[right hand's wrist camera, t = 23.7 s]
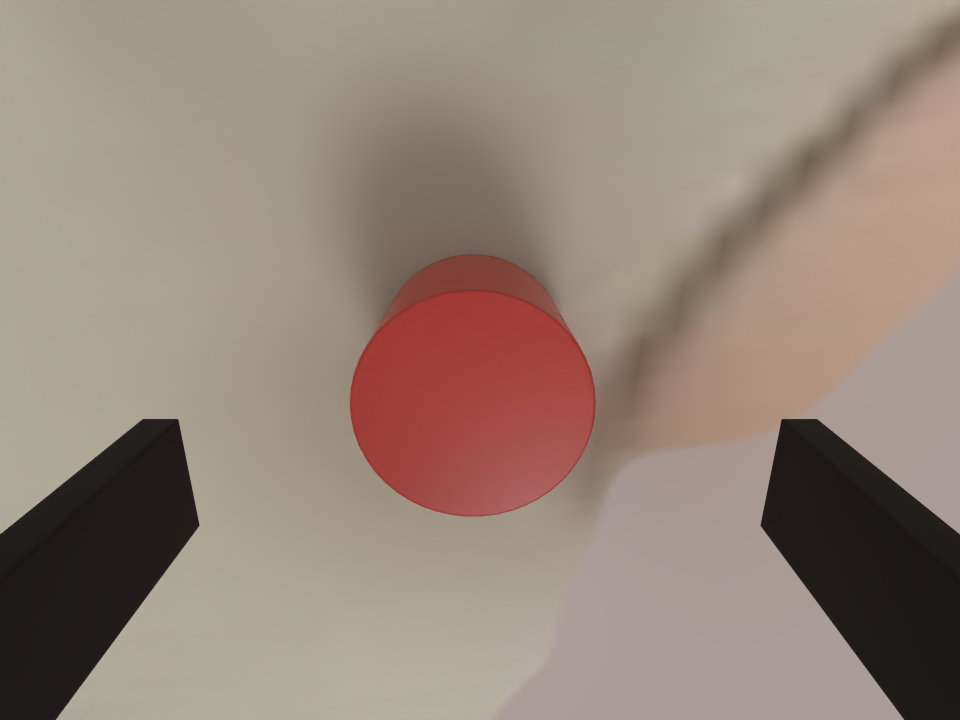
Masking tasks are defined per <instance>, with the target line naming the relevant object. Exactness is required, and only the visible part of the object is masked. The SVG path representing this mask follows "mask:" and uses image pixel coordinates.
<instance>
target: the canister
mask: <svg viewBox="0 0 960 720" xmlns="http://www.w3.org/2000/svg"><path fill="white" fill-rule="evenodd" d="M595 404H596V401H595V387H594V383H593V378H592V374H591V370H590V368H589V365H588V363H587V360H586V357H585V356H584V354H583V352H582V350H581V348H580V347H579V345H578V343H577V341H576V340H575V338H574V336H573V335H572V333H571V331H570V330H569V328H568V326H567V324H566V323H565V321H564V319H563V318H562V316H561V314H560V313H559V311H558V309H557V308H556V306H555V304H554V303H553V301H552V299H551V298H550V296H549V294H548V293H547V292H546V290H545V289H544V288H543V286H542V285H541V284H540V283H539V282H538V281H537V280H536V279H535V278H534V277H533V276H531V275H530V274H529V273H527V272H526V271H525V270H523V269H521V268H520V267H518V266H516V265H515V264H512V263H510V262H508V261H505V260H503V259H499V258H495V257H492V256H484V255H462V256H454V257H451V258H447V259H443V260H441V261H438V262H436V263H434V264H431V265H430V266H428V267H426V268H424V269H423V270H421V271H420V272H419V273H417V274H416V275H415V276H413V277H412V278H411V279H410V280H409V281H408V282H407V283H406V284H405V285H404V286H403V288H402V289H401V290H400V292H399V293H398V294H397V296H396V297H395V299H394V301H393V302H392V304H391V306H390V307H389V309H388V311H387V312H386V314H385V316H384V317H383V319H382V321H381V322H380V324H379V326H378V327H377V329H376V331H375V332H374V334H373V336H372V337H371V339H370V341H369V342H368V344H367V346H366V347H365V349H364V351H363V353H362V355H361V357H360V359H359V361H358V364H357V367H356V369H355V372H354V376H353V381H352V385H351V394H350V411H351V420H352V425H353V429H354V433H355V436H356V439H357V441H358V444H359V447H360V448H361V450H362V452H363V454H364V456H365V458H366V460H367V461H368V462H369V464H370V465H371V467H372V468H373V469H374V471H375V472H376V473H377V474H378V475H379V476H380V477H381V478H382V480H383V481H384V482H385V483H386V484H388V485H389V486H390V487H391V488H392V489H394V490H395V491H396V492H397V493H399V494H401V495H402V496H404V497H405V498H407V499H408V500H410V501H412V502H414V503H416V504H418V505H420V506H422V507H425V508H428V509H431V510H434V511H437V512H441V513H446V514H450V515H459V516H487V515H495V514H500V513H504V512H508V511H512V510H514V509H517V508H520V507H523V506H525V505H527V504H529V503H531V502H533V501H535V500H537V499H539V498H540V497H542V496H543V495H545V494H546V493H548V492H549V491H551V490H552V489H553V488H554V487H555V486H557V485H558V484H559V483H560V482H561V481H562V480H563V479H564V478H565V477H566V476H567V475H568V473H569V472H570V471H571V470H572V469H573V467H574V466H575V464H576V463H577V462H578V460H579V459H580V457H581V455H582V453H583V451H584V449H585V447H586V445H587V443H588V440H589V437H590V434H591V431H592V427H593V422H594V417H595Z"/></svg>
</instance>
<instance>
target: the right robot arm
mask: <svg viewBox="0 0 960 720" xmlns="http://www.w3.org/2000/svg"><path fill="white" fill-rule="evenodd" d="M198 527H199V521H198V516H197V511H196V506H195V501H194V496H193V491H192V486H191V481H190V476H189V471H188V466H187V461H186V456H185V451H184V446H183V441H182V436H181V431H180V426H179V421H178V419H143V420H141V421H140V422H139V423H138V424H136V425H135V426H134V427H133V428H131V429H130V430H129V431H128V432H126V433H125V434H124V435H123V436H121V437H120V438H119V439H118V440H117V441H115V442H114V443H113V444H112V445H110V446H109V447H108V448H107V449H105V450H104V451H103V452H102V453H100V454H99V455H98V456H97V457H95V458H94V459H93V460H92V461H91V462H89V463H88V464H87V465H86V466H84V467H83V468H82V469H81V470H79V471H78V472H77V473H76V474H74V475H73V476H72V477H71V478H69V479H68V480H67V481H66V482H65V483H63V484H62V485H61V486H60V487H58V488H57V489H56V490H55V491H53V492H52V493H51V494H50V495H48V496H47V497H46V498H45V499H43V500H42V501H41V502H40V503H39V504H37V505H36V506H35V507H34V508H32V509H31V510H30V511H29V512H27V513H26V514H25V515H24V516H22V517H21V518H20V519H19V520H17V521H16V522H15V523H14V524H13V525H11V526H10V527H9V528H8V529H6V530H5V531H4V532H3V533H1V534H0V720H56V719H57V717H58V716H59V715H60V713H61V712H62V710H63V709H64V708H65V706H66V705H67V704H68V702H69V701H70V700H71V698H72V697H73V696H74V694H75V693H76V692H77V690H78V689H79V688H80V686H81V685H82V683H83V682H84V681H85V679H86V678H87V677H88V675H89V674H90V673H91V671H92V670H93V669H94V667H95V666H96V665H97V663H98V662H99V661H100V659H101V658H102V656H103V655H104V654H105V652H106V651H107V650H108V648H109V647H110V646H111V644H112V643H113V642H114V640H115V639H116V638H117V636H118V635H119V634H120V632H121V631H122V629H123V628H124V627H125V625H126V624H127V623H128V621H129V620H130V619H131V617H132V616H133V615H134V613H135V612H136V611H137V609H138V608H139V607H140V605H141V604H142V602H143V601H144V600H145V598H146V597H147V596H148V594H149V593H150V592H151V590H152V589H153V588H154V586H155V585H156V584H157V582H158V581H159V580H160V578H161V577H162V575H163V574H164V573H165V571H166V570H167V569H168V567H169V566H170V565H171V563H172V562H173V561H174V559H175V558H176V557H177V555H178V554H179V553H180V551H181V550H182V548H183V547H184V546H185V544H186V543H187V542H188V540H189V539H190V538H191V536H192V535H193V534H194V532H195V531H196V530H197V528H198ZM761 527H762V528H763V530H764V531H765V532H766V534H767V535H768V536H769V538H770V539H771V540H772V542H773V543H774V544H775V546H776V547H777V548H778V550H779V551H780V553H781V554H782V555H783V557H784V558H785V559H786V561H787V562H788V563H789V565H790V566H791V567H792V569H793V570H794V571H795V573H796V574H797V575H798V577H799V578H800V580H801V581H802V582H803V584H804V585H805V586H806V588H807V589H808V590H809V592H810V593H811V594H812V596H813V597H814V598H815V600H816V601H817V602H818V604H819V605H820V606H821V608H822V609H823V611H824V612H825V613H826V615H827V616H828V617H829V619H830V620H831V621H832V623H833V624H834V625H835V627H836V628H837V629H838V631H839V632H840V634H841V635H842V636H843V638H844V639H845V640H846V642H847V643H848V644H849V646H850V647H851V648H852V650H853V651H854V652H855V654H856V655H857V656H858V658H859V659H860V661H861V662H862V663H863V665H864V666H865V667H866V669H867V670H868V671H869V673H870V674H871V675H872V677H873V678H874V679H875V681H876V682H877V683H878V685H879V686H880V688H881V689H882V690H883V692H884V693H885V694H886V696H887V697H888V698H889V700H890V701H891V702H892V704H893V705H894V706H895V708H896V709H897V710H898V712H899V713H900V715H901V716H902V717H903V718H904V720H960V534H959V533H957V532H956V531H955V530H954V529H952V528H951V527H950V526H949V525H947V524H946V523H945V522H944V521H942V520H941V519H940V518H939V517H938V516H936V515H935V514H934V513H933V512H931V511H930V510H929V509H928V508H926V507H925V506H924V505H923V504H921V503H920V502H919V501H918V500H917V499H915V498H914V497H913V496H912V495H910V494H909V493H908V492H907V491H905V490H904V489H903V488H902V487H900V486H899V485H898V484H897V483H895V482H894V481H893V480H892V479H891V478H889V477H888V476H887V475H886V474H884V473H883V472H882V471H881V470H879V469H878V468H877V467H876V466H874V465H873V464H872V463H871V462H869V461H868V460H867V459H866V458H865V457H863V456H862V455H861V454H859V453H858V452H857V451H856V450H855V449H853V448H852V447H851V446H850V445H848V444H847V443H846V442H845V441H843V440H842V439H841V438H840V437H839V436H837V435H836V434H835V433H833V432H832V431H831V430H830V429H829V428H827V427H826V426H825V425H824V424H822V423H821V422H820V421H819V420H817V419H782V421H781V426H780V431H779V436H778V441H777V446H776V451H775V456H774V461H773V466H772V471H771V476H770V481H769V486H768V491H767V496H766V501H765V506H764V511H763V516H762V521H761Z"/></svg>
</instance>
